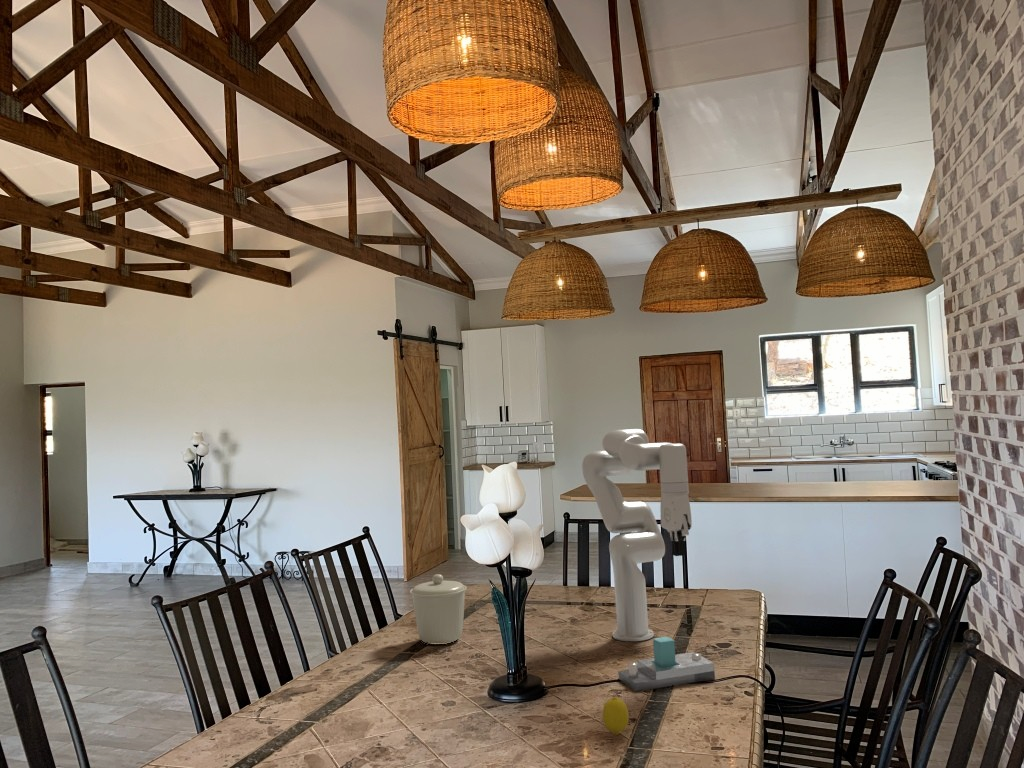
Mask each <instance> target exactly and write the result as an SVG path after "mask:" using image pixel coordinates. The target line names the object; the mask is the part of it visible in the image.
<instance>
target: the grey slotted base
mask: <svg viewBox="0 0 1024 768" xmlns="http://www.w3.org/2000/svg"><path fill="white" fill-rule="evenodd" d="M675 661H676V665H675V666H668V667H661V668H660V667H659V666H657V665H655V662H654V657H650V658H644V659H638V660H637V662H629V663H628V669H623V670H622V669H621V670H618V674H617V675H618V680H620V681H621V682H622V683H623V684H625V685H626V684H627V685H626V686H628V687H629V686H630V687H629V688H630V689H632V690H633V689H634V690H633V691H634V692H641V690H642V691H647V689H648V690H653V689H660V688H666V687H671V686H672V685H673V686H677V685H684V684H690V683H696V682H697V683H698V682H703V681H710V680H715V679H716V675H715V674H716V673H715V663H714V662H713V661H711V660H709V659H708V658H705V657H704V656H702V654H701V653H699V652H694V651H691V652H685V653H684V652H683V653H678V654H676V653H675ZM673 686H672V687H673Z"/></svg>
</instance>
